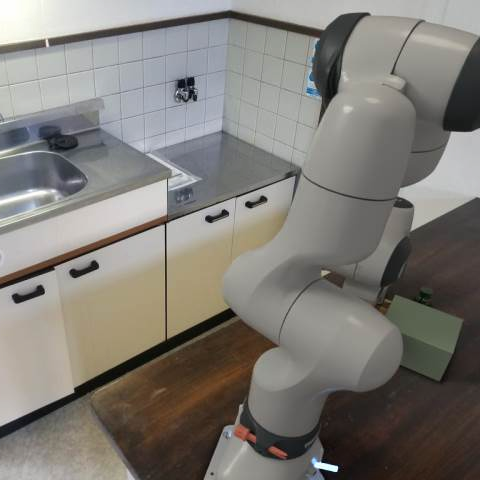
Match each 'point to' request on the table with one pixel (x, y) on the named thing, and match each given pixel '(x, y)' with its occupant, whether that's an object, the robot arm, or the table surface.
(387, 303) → the drawer
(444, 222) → the table surface
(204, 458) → the table surface
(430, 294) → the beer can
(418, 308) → the cabinet
